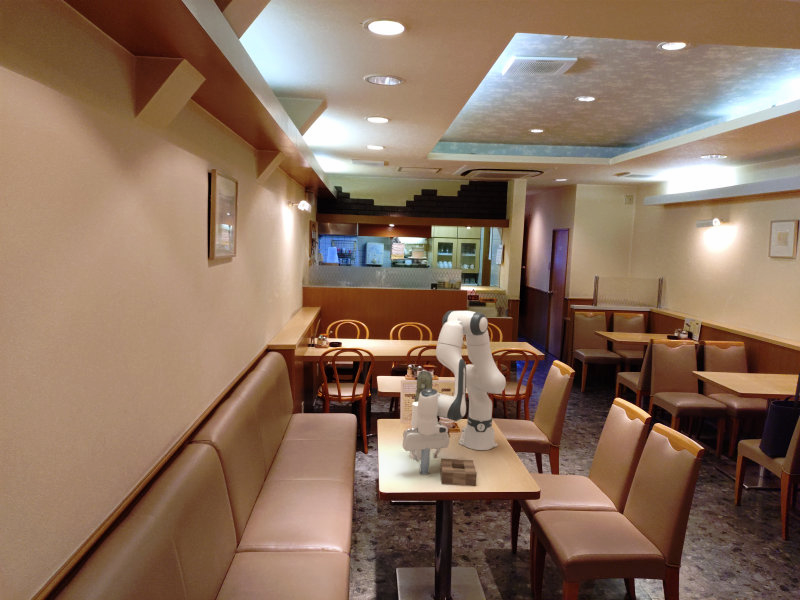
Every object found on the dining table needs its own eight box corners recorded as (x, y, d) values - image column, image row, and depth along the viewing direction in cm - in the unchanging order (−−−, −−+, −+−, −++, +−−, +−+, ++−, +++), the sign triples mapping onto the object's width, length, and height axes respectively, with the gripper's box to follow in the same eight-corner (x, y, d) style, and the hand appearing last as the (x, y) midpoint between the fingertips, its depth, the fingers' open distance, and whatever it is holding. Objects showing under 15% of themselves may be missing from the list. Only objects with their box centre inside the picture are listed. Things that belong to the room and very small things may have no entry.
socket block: (440, 469, 237) (440, 458, 236) (472, 471, 237) (473, 460, 236) (441, 483, 223) (442, 472, 222) (475, 485, 223) (476, 474, 222)
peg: (420, 470, 235) (421, 443, 234) (428, 470, 235) (429, 444, 233) (420, 473, 231) (421, 446, 230) (428, 474, 231) (430, 447, 230)
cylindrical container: (407, 458, 247) (410, 404, 244) (412, 452, 254) (415, 400, 251) (421, 461, 244) (425, 407, 242) (427, 455, 251) (430, 403, 248)
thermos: (411, 445, 262) (415, 374, 258) (412, 436, 274) (416, 368, 270) (430, 446, 262) (434, 376, 258) (430, 437, 274) (434, 370, 270)
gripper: (406, 431, 225) (404, 463, 226) (451, 428, 231) (449, 459, 233) (401, 426, 230) (399, 457, 232) (445, 423, 237) (443, 453, 239)
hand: (425, 458), depth 232 cm, fingers open, 8 cm apart
